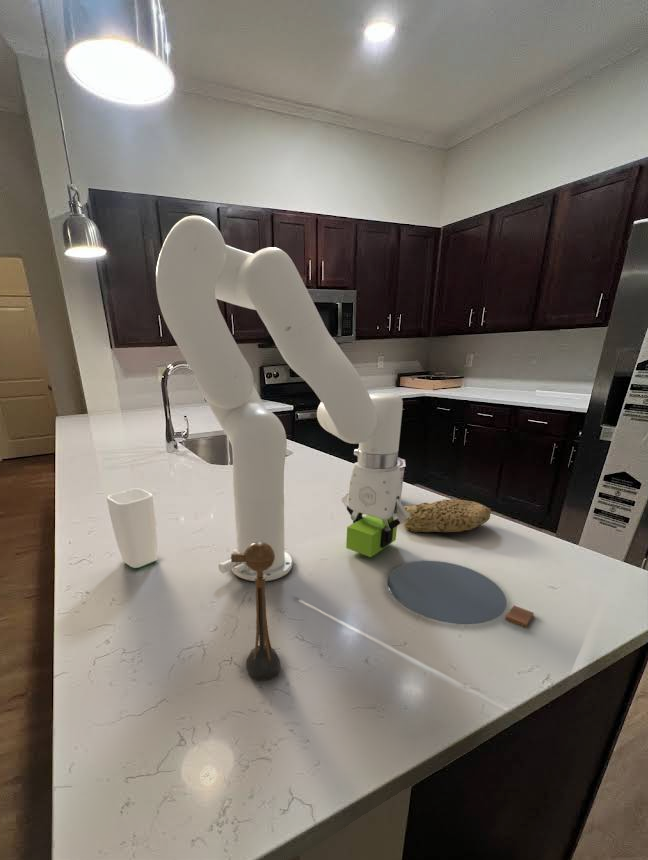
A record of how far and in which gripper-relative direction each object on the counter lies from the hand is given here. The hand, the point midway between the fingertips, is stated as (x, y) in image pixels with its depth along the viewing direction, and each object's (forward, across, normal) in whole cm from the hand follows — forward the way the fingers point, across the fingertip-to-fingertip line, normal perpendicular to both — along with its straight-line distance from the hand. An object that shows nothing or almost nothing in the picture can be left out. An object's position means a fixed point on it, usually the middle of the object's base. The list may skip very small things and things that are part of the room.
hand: (371, 539), depth 89 cm
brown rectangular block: (+3, +30, -4) cm, 31 cm away
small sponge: (+1, 0, 0) cm, 1 cm away
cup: (+3, -33, -36) cm, 49 cm away
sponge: (+3, +7, +22) cm, 23 cm away
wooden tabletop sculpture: (+3, +7, -40) cm, 41 cm away
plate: (+3, +18, -4) cm, 19 cm away
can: (+3, -13, +26) cm, 29 cm away
